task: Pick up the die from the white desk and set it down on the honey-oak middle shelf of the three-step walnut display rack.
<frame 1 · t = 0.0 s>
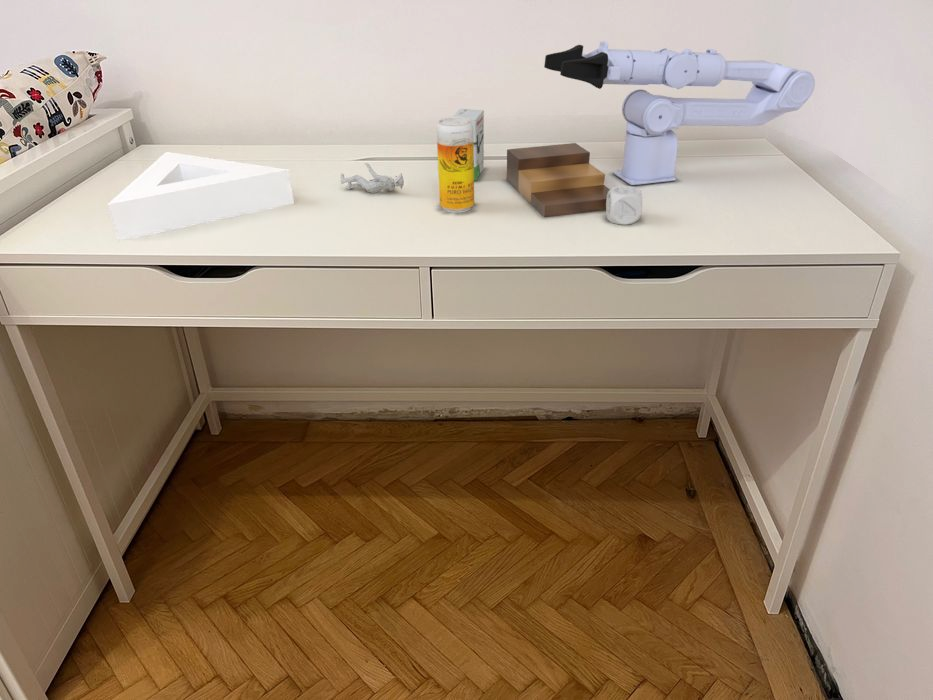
hand: (553, 65, 119), 22 cm above the table, tool horizontal, fingers open, 7 cm apart
die: (622, 220, 116), on the table
rack: (560, 193, 128), on the table
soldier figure: (373, 193, 130), on the table
triangle block: (191, 202, 129), on the table
beer can: (457, 208, 122), on the table
ink box: (468, 175, 139), on the table
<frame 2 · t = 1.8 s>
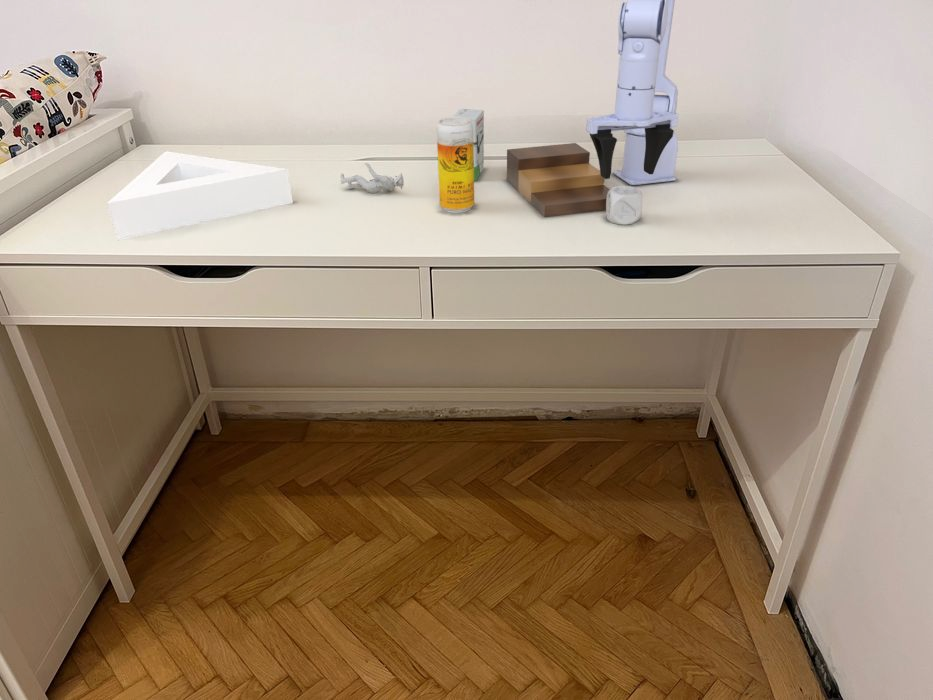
hand: (626, 174, 112), 8 cm above the table, tool pointing down, fingers open, 7 cm apart
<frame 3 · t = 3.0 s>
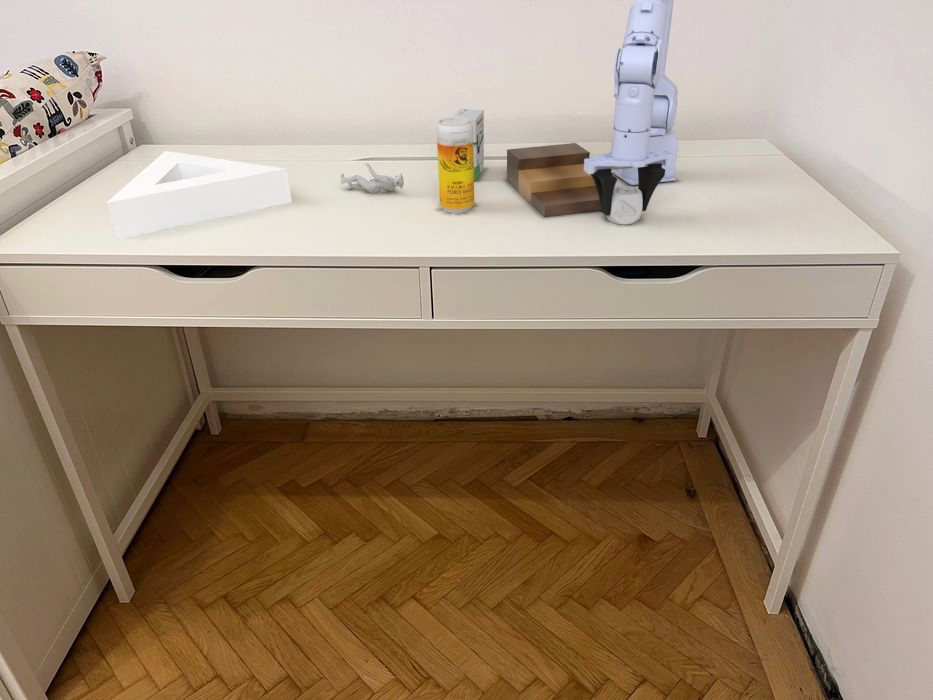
hand: (623, 211, 115), 1 cm above the table, tool pointing down, fingers closed on die, 6 cm apart
die: (622, 220, 116), on the table, touching gripper
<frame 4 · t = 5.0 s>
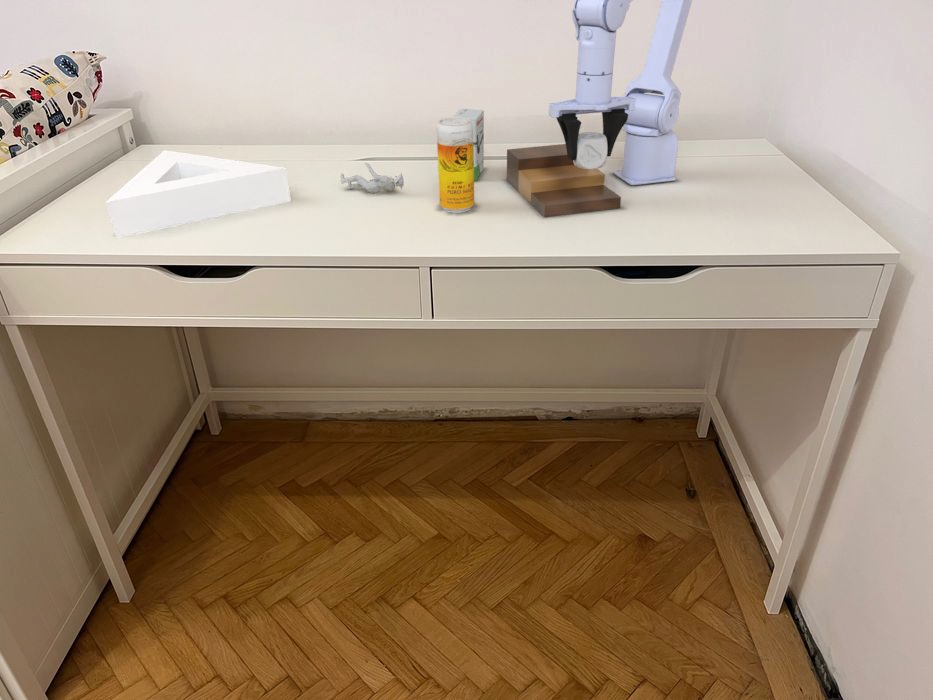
hand: (588, 156, 119), 8 cm above the table, tool pointing down, fingers closed on die, 6 cm apart
die: (588, 166, 119), point 7 cm above the table, touching gripper
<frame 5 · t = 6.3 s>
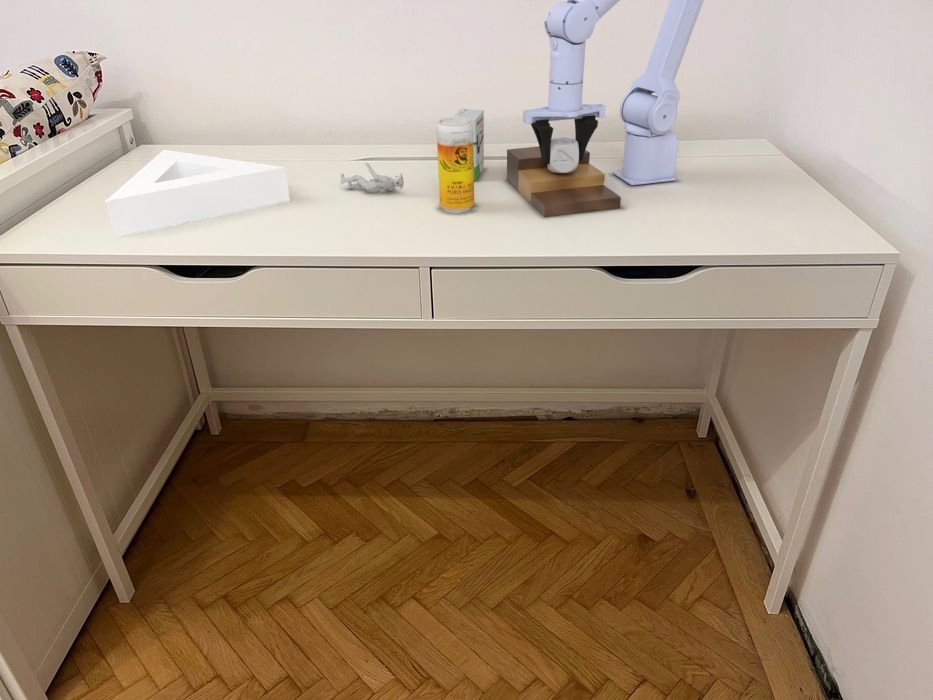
hand: (561, 161, 125), 6 cm above the table, tool pointing down, fingers closed on die, 6 cm apart
die: (561, 170, 125), point 4 cm above the table, touching gripper
when the fingers open (5 cm above the table, at t = 7.0 s): die stays where it is, resting on rack.
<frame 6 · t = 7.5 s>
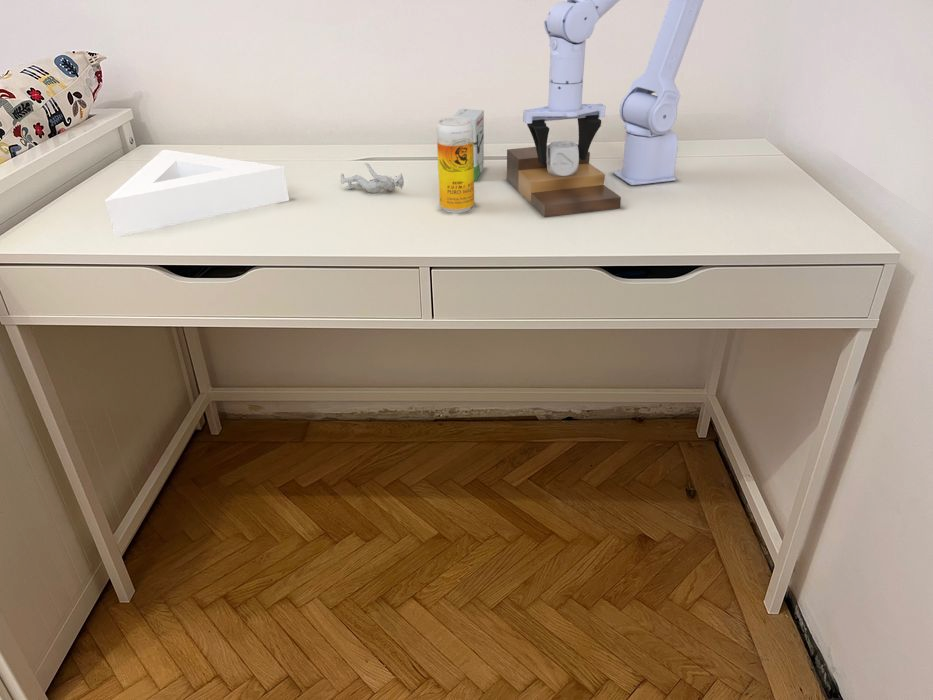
hand: (561, 160, 125), 6 cm above the table, tool pointing down, fingers open, 7 cm apart
die: (561, 173, 126), point 4 cm above the table, touching rack
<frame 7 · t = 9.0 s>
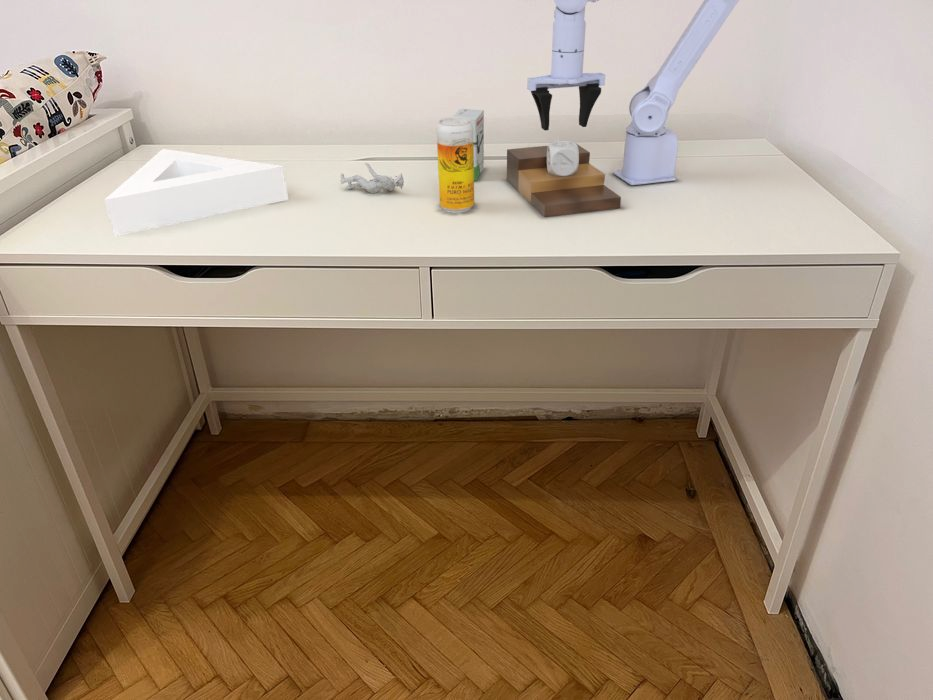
hand: (563, 127, 132), 9 cm above the table, tool pointing down, fingers open, 7 cm apart
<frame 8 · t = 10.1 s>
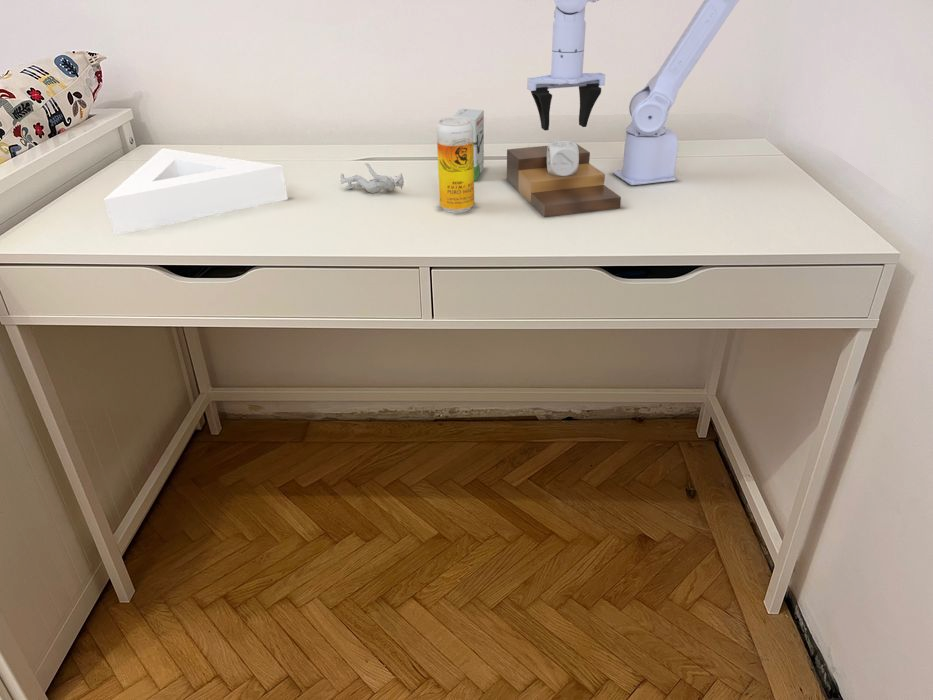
hand: (563, 127, 132), 9 cm above the table, tool pointing down, fingers open, 7 cm apart
at the end: die inside the target area on the rack (0.2 cm from its centre), point 3.8 cm above the rack's base; die tilted 0°; the gripper is holding nothing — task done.
